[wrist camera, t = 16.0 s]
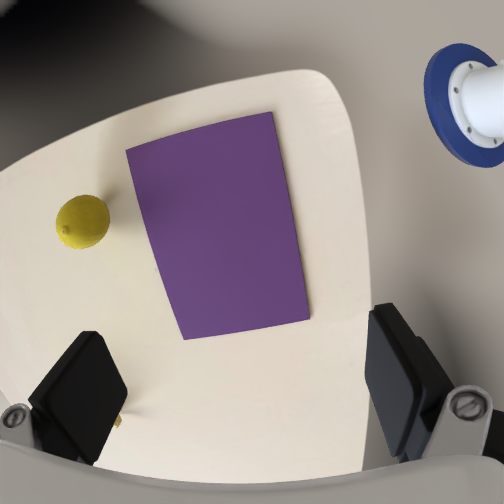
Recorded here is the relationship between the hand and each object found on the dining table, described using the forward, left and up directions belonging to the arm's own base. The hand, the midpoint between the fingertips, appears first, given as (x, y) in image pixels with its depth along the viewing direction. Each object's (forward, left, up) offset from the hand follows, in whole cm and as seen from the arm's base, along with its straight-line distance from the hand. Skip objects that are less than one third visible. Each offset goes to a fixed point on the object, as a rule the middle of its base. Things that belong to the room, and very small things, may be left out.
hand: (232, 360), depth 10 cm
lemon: (+10, -14, -24) cm, 30 cm away
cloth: (+4, -1, -24) cm, 24 cm away
